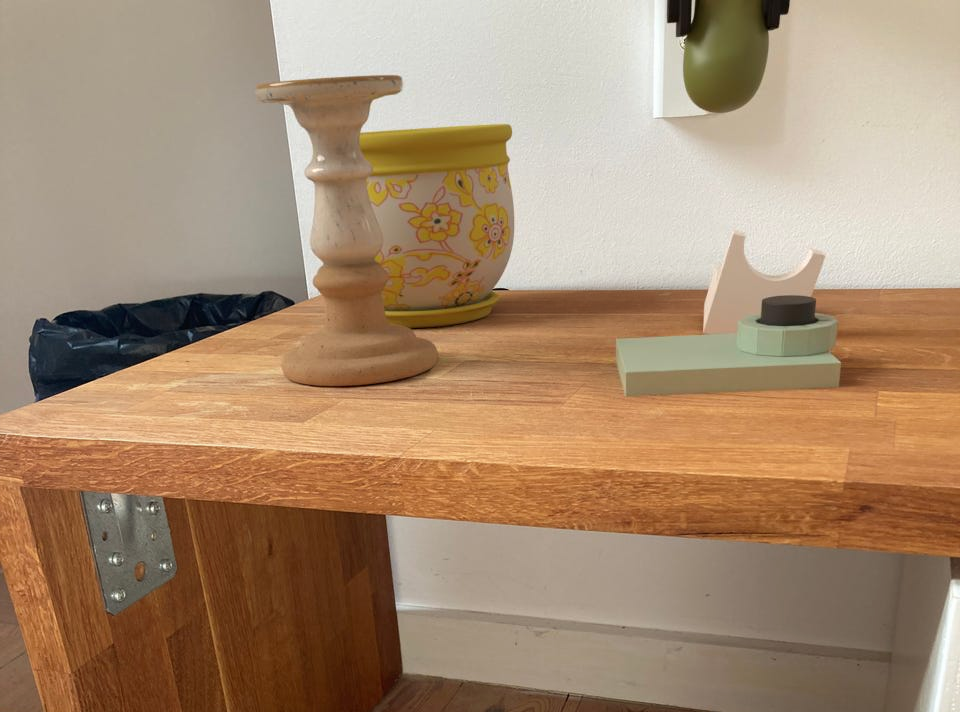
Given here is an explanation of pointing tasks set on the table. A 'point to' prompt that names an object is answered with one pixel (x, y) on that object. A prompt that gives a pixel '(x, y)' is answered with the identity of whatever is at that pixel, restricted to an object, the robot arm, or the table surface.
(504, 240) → the flowerpot
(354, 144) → the candle holder
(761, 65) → the olive green rounded piece
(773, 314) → the button
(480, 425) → the table surface
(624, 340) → the green base plate
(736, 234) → the bracket
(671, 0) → the robot arm
